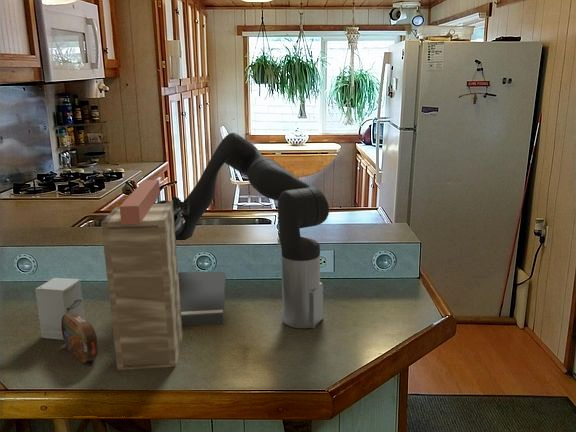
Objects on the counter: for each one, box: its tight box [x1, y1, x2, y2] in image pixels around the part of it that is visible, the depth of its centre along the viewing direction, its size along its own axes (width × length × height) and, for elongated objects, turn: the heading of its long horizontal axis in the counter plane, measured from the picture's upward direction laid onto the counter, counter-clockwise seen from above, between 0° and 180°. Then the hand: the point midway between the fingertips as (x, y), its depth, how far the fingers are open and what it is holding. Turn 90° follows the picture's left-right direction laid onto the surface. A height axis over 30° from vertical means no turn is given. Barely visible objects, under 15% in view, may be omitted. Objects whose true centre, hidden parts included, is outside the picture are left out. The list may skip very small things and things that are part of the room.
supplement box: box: [34, 277, 86, 341], centre depth 124 cm, size 7×7×13 cm
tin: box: [61, 313, 99, 364], centre depth 115 cm, size 15×3×8 cm, turn 42°
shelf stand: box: [100, 203, 184, 371], centre depth 112 cm, size 14×12×32 cm
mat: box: [178, 271, 227, 326], centre depth 142 cm, size 30×18×3 cm, turn 5°
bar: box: [120, 179, 161, 224], centre depth 111 cm, size 26×4×4 cm, turn 5°
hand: (157, 200), depth 131 cm, fingers open, 8 cm apart
